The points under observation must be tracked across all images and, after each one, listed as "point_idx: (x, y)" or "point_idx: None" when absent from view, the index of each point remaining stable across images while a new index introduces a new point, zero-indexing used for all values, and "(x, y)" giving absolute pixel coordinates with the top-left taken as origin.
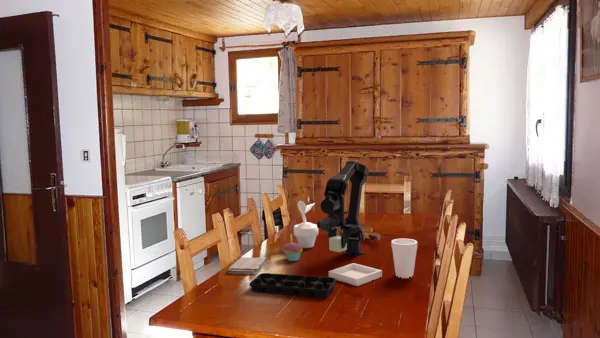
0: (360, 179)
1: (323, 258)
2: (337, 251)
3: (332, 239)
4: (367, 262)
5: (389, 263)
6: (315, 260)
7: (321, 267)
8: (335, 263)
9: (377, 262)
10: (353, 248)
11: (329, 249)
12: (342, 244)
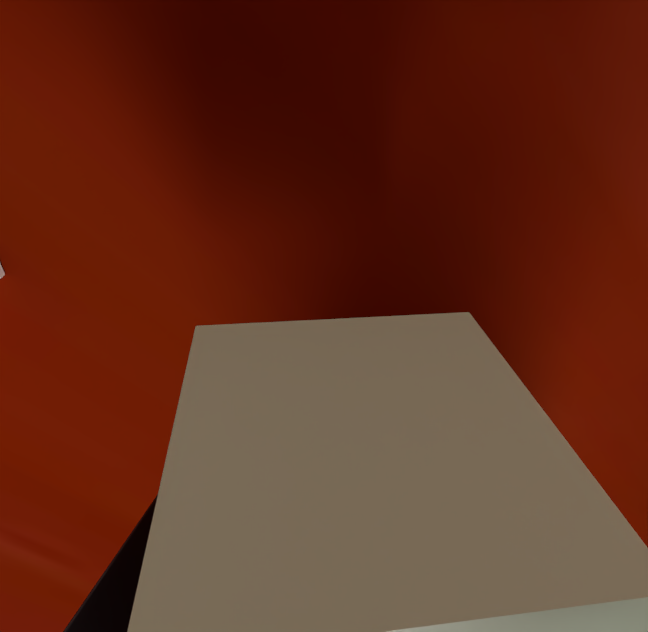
0: None
1: (586, 322)
2: (222, 331)
3: (473, 579)
4: (147, 499)
5: (2, 579)
6: (641, 208)
7: (395, 2)
8: (360, 287)
9: (90, 543)
10: None
11: (468, 317)
12: (126, 548)
